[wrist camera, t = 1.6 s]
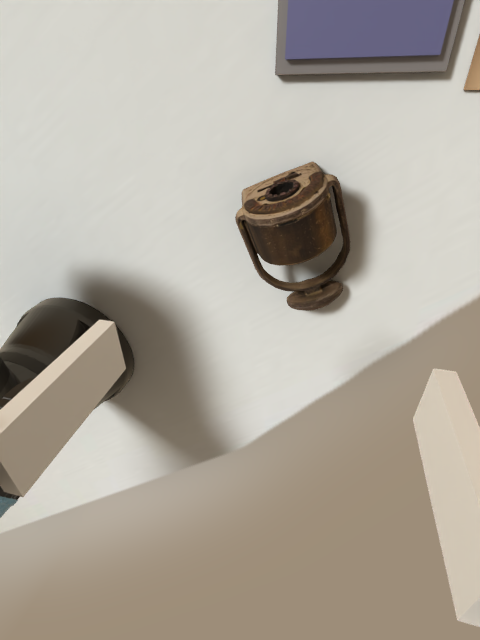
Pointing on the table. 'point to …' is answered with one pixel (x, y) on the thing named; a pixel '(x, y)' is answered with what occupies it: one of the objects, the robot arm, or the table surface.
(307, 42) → the ink pad
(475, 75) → the print sheet
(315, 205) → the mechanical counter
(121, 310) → the table surface
